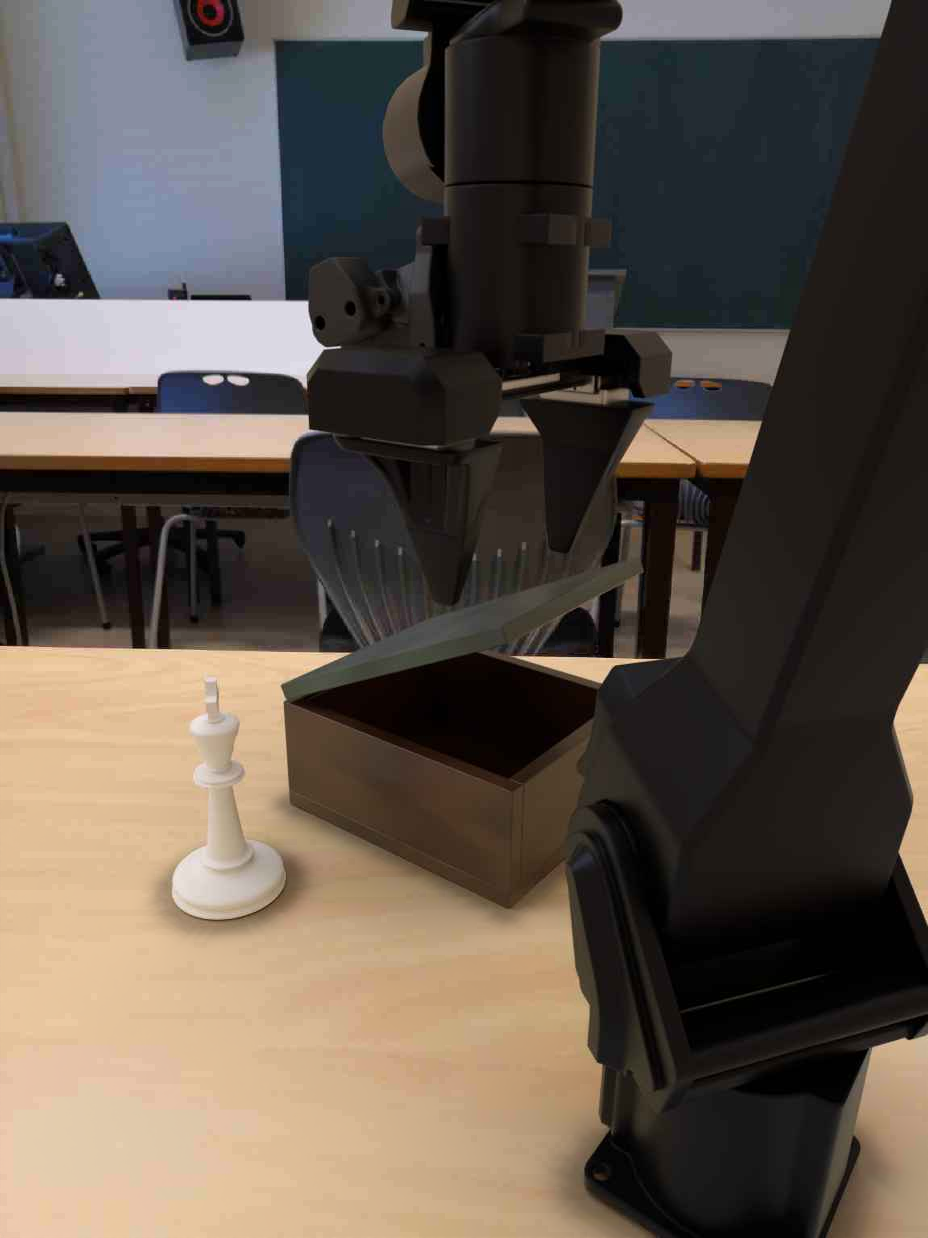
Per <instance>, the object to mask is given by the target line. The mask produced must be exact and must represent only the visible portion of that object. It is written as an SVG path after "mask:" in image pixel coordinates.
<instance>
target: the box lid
mask: <svg viewBox="0 0 928 1238" xmlns="http://www.w3.org/2000/svg"><path fill="white" fill-rule="evenodd" d="M644 571H645V569H644V567H643V564H642V562H641V559H640V557H639V556H636V557H632V558H629V559H626V560H621V561H618V562H615V563H612V564H609V565H605V566H602V567H598V568H596V569H591V570H589V571H584V572H582V573H578V574H575V575H572V576H568V577H565V578H562V579H558V580H555V581H551V582H548V583H545V584H540V585H537V586H535V587H531V588H527V589H525V590H521V591H517V592H514V593H510V594H508V595H504V596H501V597H496V598H494V599H490V600H487V601H483V602H480V603H477V604H474V605H473V604H472V605H471V606H466V607H462V608H459V609H456V610H453V611H450V612H446V613H443V614H440V615H436V616H433V617H429V618H426V619H424V620H423V621H421V622H417V623H416V624H414V625H411V626H408V627H407V628H405V629H402V630H400V631H398V632H395V633H393V634H391V635H389V636H387V637H385V638H382V639H379V640H378V641H376V642H373V643H371V644H369V645H367V646H364V647H362V648H359V649H357V650H355V651H353V652H351V653H348V654H346V655H344V656H342V657H340V658H337V659H335V660H333V661H330V662H328V663H326V664H324V665H322V666H320V667H317V668H314V669H313V670H310V671H308V672H306V673H304V674H301V675H299V676H297V677H294V678H292V679H290V680H287V681H285V682H283V683H282V684H280V689H281V690H282V693H283V696H284V699H285V700H287V699H291V698H295V697H299V696H303V695H307V694H311V693H315V692H319V691H323V690H327V689H331V688H335V687H339V686H343V685H347V684H351V683H355V682H359V681H363V680H367V679H371V678H375V677H379V676H383V675H387V674H391V673H395V672H399V671H403V670H407V669H411V668H415V667H419V666H423V665H427V664H431V663H435V662H439V661H443V660H447V659H451V658H455V657H459V656H464V655H468V654H472V653H476V652H480V651H484V650H492V649H496V648H499V647H503V646H508V645H509V644H511V643H514V642H515V641H517V640H519V639H521V638H523V637H524V636H526V635H529V634H530V633H532V632H535V631H536V630H537V629H540V628H542V627H543V626H545V625H547V624H549V623H550V622H553V621H555V620H556V619H559V618H560V617H562V616H564V615H566V614H568V613H570V612H572V611H574V610H575V609H578V608H579V607H581V606H583V605H585V604H587V603H589V602H590V601H592V600H594V599H596V598H598V597H600V596H601V595H603V594H605V593H607V592H609V591H611V590H613V589H615V588H616V587H619V586H620V585H622V584H625V583H626V582H628V581H630V580H632V579H634V578H635V577H637V576H639V575H641V574H643V573H644Z"/></svg>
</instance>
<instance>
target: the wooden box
mask: <svg viewBox="0 0 928 1238" xmlns="http://www.w3.org/2000/svg"><path fill="white" fill-rule="evenodd" d="M602 683H603V682H598V681H596V680H595V681H594V680H592V679H588V678H585V677H582V676H578V675H575V674H571V673H568V672H564V671H562V670H558V669H555V668H552V667H548V666H544V665H541V664H538V663H535V662H531V661H529V660H525V659H522V658H519V657H515V656H512V655H509V654H505V653H503V652H499V651H494V650H492V649H488V650H484V651H480V652H476V653H472V654H468V655H464V656H459V657H455V658H451V659H447V660H443V661H439V662H435V663H431V664H427V665H423V666H419V667H415V668H411V669H407V670H403V671H399V672H395V673H391V674H387V675H383V676H379V677H375V678H371V679H367V680H363V681H359V682H355V683H351V684H347V685H343V686H339V687H335V688H331V689H327V690H323V691H319V692H315V693H311V694H307V695H303V696H299V697H295V698H291V699H285V700H283V716H284V717H283V718H284V719H283V720H284V733H285V745H286V746H285V749H286V763H287V780H288V789H289V790H288V795H289V803H290V804H291V805H293V806H295V807H298V808H300V809H302V810H303V811H306V812H308V813H310V814H312V815H314V816H317V817H318V818H321V819H322V820H325V821H327V822H328V823H330V824H332V825H335V826H337V827H339V828H342V829H343V830H346V831H348V832H349V833H352V834H353V835H356V836H358V837H360V838H362V839H364V840H366V841H368V842H370V843H372V844H374V845H377V846H378V847H380V848H383V849H384V850H386V851H389V852H391V853H393V854H395V855H397V856H400V857H401V858H403V859H405V860H407V861H410V862H412V863H414V864H416V865H418V866H420V867H422V868H424V869H426V870H428V871H430V872H432V873H434V874H436V875H439V876H441V877H443V878H444V879H447V880H448V881H451V882H453V883H454V884H457V885H459V886H461V887H464V888H465V889H467V890H470V891H472V892H473V893H476V894H478V895H480V896H482V897H483V898H486V899H489V900H490V901H492V902H494V903H497V904H499V905H500V906H503V907H505V908H507V909H510V908H511V907H512V906H513V905H515V904H516V903H517V902H518V901H519V900H520V899H521V898H522V897H523V896H524V895H525V894H526V893H528V891H530V890H531V889H532V888H533V887H534V886H535V885H536V884H537V883H539V882H540V881H541V880H542V879H543V878H544V877H545V876H547V874H549V873H550V872H551V871H552V870H553V869H554V868H555V867H557V865H558V864H560V863H561V862H562V861H563V860H565V850H564V839H565V837H567V829H568V824H569V820H570V817H571V815H572V813H573V811H574V810H576V809H577V803H578V797H579V794H580V791H581V787H582V785H583V782H584V780H585V777H583V776H581V775H580V774H579V773H578V771H577V762H578V760H579V759H580V758H581V756H582V755H583V754H584V753H585V751H586V748H587V745H588V742H589V739H590V737H591V732H592V726H593V720H594V712H595V704H596V696H597V691H598V689H599V687H600V686H601V684H602Z"/></svg>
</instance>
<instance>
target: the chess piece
mask: <svg viewBox="0 0 928 1238" xmlns="http://www.w3.org/2000/svg"><path fill="white" fill-rule="evenodd" d="M204 690H205V691H204V692H205V701H204V707H205V713H203V714H200V715H199V716H197V717H195V718H193V720H192V721H191V722H190V724H189V727H188V728H189V733H190V735H191V737H192V739H193V741H194V742H195V744H196V746H197V748H198V750H199V753H200V755H201V756H202V758H203V759H202V760H204V762H202V763H201V764H199V765H198V766H197V767H196V768H195V769H194V772H193V776H192V777H193V778H192V780H193V782H194V784H196V786H197V787H200V788H203V789H207V790H208V816H207V817H208V818H207V819H208V820H207V838H206V845H203V846H202V847H201V846H200V848H197V849H196V850H194V851H192V852H191V853H189V854H188V855H186V856H185V857H184V858H183V859H182V860H181V861H180V863H178V864H177V866H176V868H175V870H174V872H173V874H172V887H171V896H172V900H173V901H174V903H175V905H176V906H177V907H178V908H179V909H180V910H181V911H183V912H184V913H186V914H188V915H190V916H193V917H196V918H198V919H199V918H200V919H204V920H205V919H206V920H230V919H237V918H240V917H244V916H248V915H251V914H253V913H255V912H257V911H259V910H262V909H263V908H265V907H266V906H268V905H269V904H271V903H272V902H273V901H274V900H275V899H277V897H278V896H279V895H280V894H281V892H282V891H283V889H284V887H285V885H286V881H287V872H286V870H285V869H286V868H285V867H284V861H283V858H282V856H281V855H280V854H279V852H278V851H277V850H275V848H273V847H272V846H270V845H268V844H267V843H264V842H262V841H257V840H254V839H253V840H252V839H247V838H245V835H244V831H243V827H242V822H241V819H240V815H239V810H238V807H237V802H236V796H235V793H234V787H233V786H235V785H237V784H238V783H240V782H241V781H242V780H243V779H244V778H245V775H246V770H245V768H244V765H243V764H242V762H240V761H238V760H236V759H233V758H232V756H233V753H234V748H235V743H236V740H237V736H238V734H239V729H240V723H241V722H240V719H239V718H238V717H237V715H235V714H233V713H231V712H226V711H220V702H219V699H220V688H219V684H218V681H217V676H211V677H210V676H209V677H205V678H204Z"/></svg>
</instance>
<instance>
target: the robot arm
mask: <svg viewBox="0 0 928 1238" xmlns="http://www.w3.org/2000/svg"><path fill="white" fill-rule="evenodd" d="M889 4H890V5H889V8H888V12H887V14H886V19H885V22H884V24H883V28H882V32H881V34H880V38H879V42H878V44H877V46H876V47H877V48H876V51H875V54H874V56H873V57H874V58H873V61H872V64H871V66H870V69H869V70H870V71H869V73H868V75H867V76H868V77H867V80H866V83H865V86H864V90H863V92H862V96H861V99H860V103H859V106H858V109H857V112H856V115H855V119H854V121H853V126H852V129H851V132H850V135H849V138H848V141H847V145H846V148H845V152H844V155H843V157H842V161H841V164H840V168H839V171H838V174H837V177H836V180H835V183H834V186H833V190H832V192H831V197H830V199H829V203H828V206H827V209H826V212H825V216H824V219H823V223H822V226H821V229H820V232H819V235H818V239H817V242H816V245H815V248H814V251H813V254H812V257H811V261H810V264H809V268H808V271H807V274H806V277H805V280H804V284H803V287H802V290H801V293H800V297H799V300H798V303H797V307H796V310H795V312H794V316H793V319H792V323H791V326H790V329H789V333H788V336H787V338H786V342H785V345H784V347H783V348H784V349H783V352H782V354H781V358H780V361H779V365H778V368H777V371H776V374H775V375H776V376H775V377H774V380H773V383H772V384H773V385H772V387H771V390H770V393H769V397H768V400H767V404H766V407H765V411H764V412H763V417H762V420H761V423H760V426H759V430H758V431H757V432H758V433H757V435H756V439H755V443H754V446H753V449H752V452H751V455H750V458H749V462H748V464H747V469H746V472H745V475H744V478H743V481H742V485H741V487H740V491H739V495H738V497H737V501H736V504H735V507H734V510H733V514H732V517H731V520H730V524H729V526H728V531H727V533H726V536H725V539H724V543H723V546H722V550H721V553H720V555H719V559H718V561H717V565H716V569H715V572H714V576H713V578H712V582H711V584H710V588H709V592H708V595H707V598H706V601H705V604H704V607H703V610H702V614H701V617H700V620H699V624H698V627H697V630H696V634H695V636H694V640H693V642H692V645H691V646H690V648H689V649H688V650H687V652H686V653H685V654H684V655H682V656H676V657H668V658H660V659H654V660H652V659H651V660H645V661H638V662H637V661H636V662H630V663H629V662H628V663H622V664H615V665H614V666H612V667H611V669H610V670H609V672H608V673H607V675H606V676H605V678H604V680H603V681H602V682H601V683H602V684H601V686H600V687H599V689H598V691H597V696H596V704H595V712H594V720H593V726H592V732H591V737H590V739H589V742H588V745H587V748H586V751H585V753H584V754H583V755H582V756H581V758H580V759H579V760H578V762H577V771H578V773H579V774H580V775H581V776H583V777H585V780H584V782H583V785H582V787H581V791H580V794H579V797H578V803H577V809H576V810H574V811H573V813H572V815H571V817H570V820H569V824H568V829H567V837H565V839H564V850H565V858H564V861H565V867H564V873H565V879H566V884H567V893H568V902H569V913H570V925H571V935H572V946H573V957H574V967H575V972H576V976H577V977H578V982H579V988H580V991H581V993H582V995H583V997H584V998H585V1000H586V1002H587V1003H588V1006H589V1008H588V1009H589V1013H588V1014H589V1017H588V1029H587V1030H588V1031H587V1044H586V1046H587V1048H588V1050H589V1051H590V1053H591V1055H592V1057H593V1059H594V1060H595V1062H596V1063H597V1064H600V1065H602V1066H601V1067H602V1068H601V1079H600V1093H599V1103H598V1117H599V1120H600V1123H601V1124H602V1125H604V1126H605V1127H606V1128H609V1130H608V1131H607V1133H606V1134H605V1135H604V1136H603V1139H602V1140H601V1141H600V1142H599V1144H598V1145H597V1147H596V1148H595V1150H594V1151H593V1153H592V1154H591V1155H590V1157H589V1158H588V1160H587V1161H586V1163H585V1165H584V1168H583V1178H582V1179H583V1185H584V1187H585V1189H586V1191H588V1193H590V1194H591V1195H592V1196H594V1197H596V1198H597V1199H599V1200H600V1201H602V1202H603V1203H605V1204H606V1205H608V1206H610V1207H611V1208H612V1209H614V1210H615V1211H617V1212H618V1213H620V1214H622V1215H623V1216H625V1217H626V1218H628V1219H629V1220H631V1221H633V1222H634V1223H635V1224H637V1225H638V1226H640V1227H642V1228H643V1229H645V1230H646V1231H648V1232H649V1233H650V1234H652V1235H654V1236H656V1237H657V1238H828V1237H829V1234H830V1232H831V1229H832V1227H833V1224H834V1222H835V1220H836V1217H837V1215H838V1212H839V1209H840V1207H841V1205H842V1203H843V1200H844V1198H845V1195H846V1192H847V1191H848V1187H849V1184H850V1182H851V1179H852V1177H853V1175H854V1172H855V1170H856V1167H857V1165H858V1162H859V1160H860V1159H859V1158H860V1154H861V1147H862V1146H861V1143H860V1141H859V1139H858V1138H857V1136H856V1135H855V1134H854V1133H855V1129H856V1125H857V1124H856V1123H857V1119H858V1115H859V1110H860V1106H861V1102H862V1097H863V1092H864V1089H865V1088H864V1087H865V1083H866V1078H867V1074H868V1069H869V1066H870V1060H871V1056H872V1052H873V1048H875V1047H878V1046H882V1045H885V1044H890V1043H892V1042H896V1041H899V1040H903V1039H905V1040H907V1041H913V1040H916V1039H919V1038H923V1037H926V1036H928V922H927V919H926V917H925V914H924V912H923V910H922V907H921V905H920V902H919V900H918V897H917V895H916V892H915V890H914V886H913V884H912V883H911V882H912V881H911V880H910V877H909V873H908V871H907V869H906V867H905V864H904V861H903V858H902V856H901V854H900V849H901V846H902V843H903V840H904V836H905V834H906V830H907V827H908V825H909V821H910V819H911V815H912V812H913V807H914V802H915V800H914V799H915V798H914V792H913V789H912V785H911V782H910V778H909V775H908V771H907V767H906V763H905V759H904V756H903V753H902V749H901V745H900V742H899V737H898V734H897V731H896V728H895V720H896V715H897V712H898V710H899V707H900V704H901V702H902V700H903V699H904V696H905V695H906V693H907V691H908V689H909V687H910V685H911V683H912V681H913V678H914V676H915V674H916V672H917V670H918V669H919V667H920V664H921V662H922V660H923V658H924V656H925V654H926V652H927V651H928V0H891V1H890V3H889ZM623 17H624V11H623V7H622V4H621V3H620V2H619V0H392V2H391V11H390V25H391V29H392V30H401V31H409V32H410V31H412V32H423V33H427V36H425V37H424V38H423V44H422V47H423V48H422V50H423V51H422V52H423V53H422V54H423V55H422V56H423V61H422V62H423V63H422V68H420V69H418V70H417V71H415V72H413V73H412V74H411V75H410V76H408V77H407V78H406V79H404V80H403V82H402V83H401V84H400V85H399V86H398V87H397V88H396V90H395V91H394V93H393V95H392V97H391V99H390V100H389V102H388V105H387V108H386V112H385V116H384V119H383V122H382V143H383V148H384V153H385V156H386V159H387V162H388V165H389V167H390V169H391V170H392V173H393V174H394V176H395V177H396V178H397V180H398V181H399V182H400V183H401V184H402V185H403V186H404V187H405V188H406V189H407V190H408V191H409V192H411V193H412V194H414V195H415V196H417V197H419V198H421V200H426V201H429V202H432V203H436V204H437V203H438V204H443V215H431V216H427V215H426V216H421V225H420V226H418V228H417V229H416V232H415V255H414V256H415V258H414V261H412V262H410V263H407V264H405V265H403V266H401V267H398V268H395V269H391V268H390V269H384V268H383V269H382V268H381V269H379V270H377V271H375V272H374V271H373V270H372V269H371V268H370V267H369V265H368V263H366V261H365V260H364V259H363V258H362V257H354V256H352V257H351V256H350V257H347V256H332V257H328V258H326V259H324V260H322V261H321V262H318V263H317V264H315V265H313V266H311V267H310V268H309V273H308V274H309V276H308V278H309V279H308V299H307V300H308V301H307V303H308V304H307V307H308V308H307V309H308V310H307V311H308V316H309V320H310V323H311V330H312V334H313V336H314V338H315V339H316V341H317V342H318V344H320V345H321V346H323V347H324V349H323V350H322V352H320V354H319V356H318V357H317V359H315V362H314V363H313V364H312V366H311V367H310V368H309V370H307V373H306V395H307V417H308V430H310V431H316V432H323V433H328V434H329V433H330V434H332V437H333V439H334V442H335V443H336V445H337V446H338V447H339V449H340V450H342V451H346V452H350V453H351V452H352V453H356V454H358V455H360V456H361V457H362V458H363V459H364V460H365V461H366V462H367V463H368V464H369V465H370V466H371V467H372V468H373V469H375V470H376V472H378V474H380V476H381V477H382V478H383V481H385V483H386V485H387V488H388V490H389V492H390V494H391V496H392V498H393V500H394V503H395V504H396V506H397V509H398V512H399V514H400V516H401V519H402V522H403V525H404V526H405V530H406V532H407V535H408V537H409V540H410V543H411V546H412V548H413V552H414V554H415V556H416V559H417V562H418V565H419V568H420V570H421V574H422V576H423V579H424V582H425V583H426V584H425V585H426V587H427V589H428V592H429V595H430V598H431V599H432V601H434V603H437V604H441V605H445V606H449V607H452V606H453V607H454V606H456V605H457V604H458V603H459V602H460V599H461V597H462V593H463V591H464V589H465V585H466V582H467V580H468V579H467V578H468V576H469V573H470V569H471V566H472V562H473V560H474V559H473V558H474V555H475V552H476V547H477V543H478V540H479V537H480V532H481V529H482V525H483V522H484V518H485V514H486V511H487V508H488V507H487V506H488V503H489V499H490V495H491V492H492V489H493V485H494V481H495V477H496V473H497V471H498V470H497V469H498V466H499V463H500V459H501V455H502V451H503V449H504V448H503V447H504V442H503V441H498V440H497V441H496V440H490V439H489V440H488V439H483V438H484V437H487V436H490V434H491V432H492V430H493V428H494V426H495V424H496V423H497V420H498V418H499V416H500V414H501V412H502V410H503V402H505V401H510V400H514V399H518V402H519V404H520V406H521V408H522V409H523V411H524V412H525V414H526V415H527V417H528V418H529V420H530V422H531V423H532V424H533V426H534V427H535V429H536V431H537V433H539V436H540V440H541V457H542V458H541V459H542V478H543V480H542V481H543V502H544V503H543V504H544V518H545V519H544V521H545V530H546V538H547V539H546V540H547V546H548V549H549V551H551V552H552V553H553V552H554V553H559V554H563V555H564V554H565V555H566V554H569V553H571V552H572V551H573V550H574V547H575V546H576V544H577V542H578V540H579V538H580V536H581V535H582V532H583V531H584V529H585V527H586V525H587V524H588V522H589V519H590V518H591V516H592V514H593V512H594V511H595V509H596V507H597V505H598V503H599V501H600V500H601V497H602V496H603V494H604V492H605V490H606V489H607V486H608V484H609V482H610V481H611V479H612V478H613V475H614V473H615V472H616V470H617V468H618V466H619V465H620V463H621V461H622V460H623V458H624V456H625V454H626V453H627V451H628V450H629V448H630V446H631V444H632V443H633V441H634V439H635V438H636V436H637V434H638V433H639V431H640V429H641V427H642V425H643V424H644V422H645V421H646V419H647V418H648V417H649V416H652V415H653V414H654V412H655V409H656V403H654V402H649V401H642V400H631V399H629V395H630V394H629V393H630V392H631V395H632V397H633V398H635V399H649V398H653V397H659V396H663V395H667V394H670V386H671V375H672V374H671V373H672V363H673V351H672V350H671V348H669V346H668V345H667V344H666V342H665V341H664V339H663V338H662V337H661V336H660V335H659V333H658V332H657V331H656V330H636V329H620V328H618V329H615V328H601V327H600V328H599V327H598V328H597V327H586V323H587V305H588V287H589V267H590V251H591V248H610V247H611V242H612V228H613V227H612V224H613V219H612V218H610V219H609V218H602V217H600V218H599V217H592V215H593V214H592V213H593V211H592V210H593V198H594V197H593V195H594V190H593V188H594V176H595V175H594V174H595V157H596V137H597V120H598V104H599V102H598V101H599V85H600V84H599V83H600V65H601V46H602V43H601V42H602V40H601V38H602V37H604V36H607V35H609V34H611V33H613V32H615V31H616V30H618V29H619V27H620V26H621V25H622V22H623ZM325 348H326V349H325ZM482 437H483V438H482ZM596 1175H602V1176H604V1177H605V1179H601V1178H600V1179H599V1178H597V1177H596Z"/></svg>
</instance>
